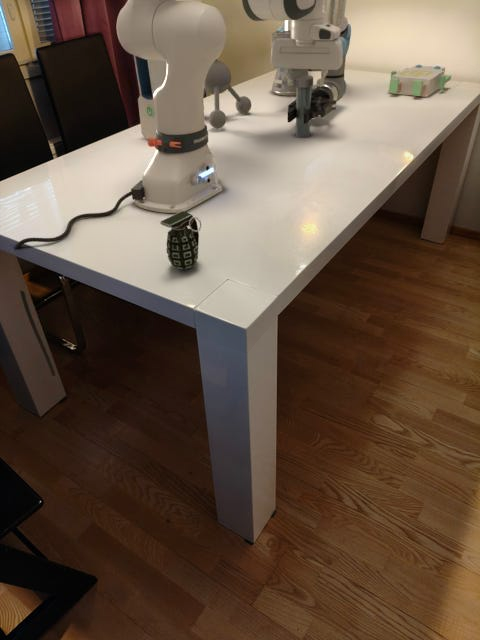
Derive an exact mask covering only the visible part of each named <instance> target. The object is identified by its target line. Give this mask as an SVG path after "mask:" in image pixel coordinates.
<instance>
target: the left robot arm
mask: <svg viewBox="0 0 480 640" xmlns="http://www.w3.org/2000/svg"><path fill="white" fill-rule="evenodd" d="M241 3H242V7H243V10H244V12H245V14H246V15H247V17H249V19H250V20H252V21H253V22H262V21H263V22H264V21H265V22H266V21H276V22H284V21H291V30H286V31H280V30H278V29H277V30H278V31H277V30H276V31H275V32H273V33H272V34H271V36H270V46H271V52H270V66H271V67H272V68H273V69H277V68H284V74H285V76H286V78H287V79H288V80H287V85H289V86H293V85H294V78H291V75H290V73H289V72H290V71H291V69H319V70H321V71H320V74H323V75H322V76H321V77H320V78H317V80H316V88H317V87H322V86H323V80H324V78H325V76H326V75H327V73H328V70H338V69H339V68H340V67H341V66H342V63H343V47H342V42H341V40H340V39H339V38H338V37H339V36H340V31H341V30H340V28H339V27H336V26H334V25H331V24H328V23H326V22H324V13H323V3H324V0H241ZM116 34H117V38H118V41H119V44H120V45H121V47H122V48H123V49H124V51H125V52H127V53H128V54H130V55H133V56H134V55H135V56H137V57H140V58H143V59H146V60H156V61H166V64H167V73H166V78H165V81H164V82H163V83H162V84H160V85H159V86H158V87H157V89H156V90H155V92H154V95H153V101H154V108H155V114H156V121H157V128H158V129H157V130H156V138H152V137H150V138H149V139H147V146H149V147H151V148H152V147H154V148H155V151H154V153H153V155H152V157H151V159H150V162H149V163H148V165H147V167H146V169H145V172H144V173H143V176H142V179H141V180H140V181H138V182H137V183H136V184H135V185H133V187H132V188H131V189H130V191H129V192H127V193H125V194H124V195H122V196H121V197H119V198H118V200H117V201H116V203H115V205H114V206H113V208H112V209H110V210H106V211H104V212H103V211H102V212H93V213H92V212H90V213H82V214H78V215H76V216H74V217H73V218H71V219H70V220H69V221H68V223H67V226H66V229H65V230H64V232H62V233H61V234H60V235H58V236H54V237H26V238H23V239H21V240H20V241H18V242H17V243H16V245H15V246H14V248H13V250H15V251H16V250H19V249H21V247H22V246H23V245H25V244H28V243H34V242H38V243H54V242H58V241H61V240H62V239H65V238H66V237H67V236H68V235H69V234H70V231H71V229H72V226H73V224H74V223H75V222H76V221H78V220H81V219H85V218H101V217H107V216H110V215H112V214H114V213H115V212H116V211H117V210H118V209H119V207H120V206H121V204H122V203H123V202H124V200H126V199H127V198H129V197H131V198H132V200H134V205H135V206H137V207H138V208H140V209H142V210H143V209H144V210H147V211H151V212H157V213H164V214H177V213H179V212H181V211H184V212H187V211H189V210H190V209H193V208H194V207H196V206H198V205H199V204H201V203H203V202H205V201H207V200H208V199H210V198H212V197H214V196H215V195H217V194H219V193H220V192H222V191H223V185H222V184H220V183H219V180H218V174H217V168H216V163H215V156H214V155H213V153H212V152H211V149H210V147H209V145H208V143H209V130H208V126H207V124H206V121H205V103H204V98H203V91H204V83H205V79H206V76H207V73H208V70H209V68H210V66H211V65H212V63H213V62H214V61H215V60H216V59H217V60H218V58H219V57H220V56H221V54H222V53H223V51H224V49H225V46H226V43H227V25H226V22H225V20H224V17H223V15H222V13H221V11H220V10H219V9H218V7H215V6H212V5H210V4H207V3H204V2H200V1H197V0H127V1H126V2H125V4H124V6H123V7H122V8H121V9H120V11H119V13H118V15H117V19H116ZM19 293H20V296H21V297H20V298H21V300H22V303H23V308H24V310H25V313H26V316H27V318H28V321H29V323H30V326H31V328H32V331H33V332H34V336H35V337H36V340H37V342H38V344H39V347H40V349H41V351H42V354H43V357H44V358H45V361H46V363H47V366H48V367H49V372H50V374H51V377H55V376H56V372H55V369H54V367H53V364H52V362H51V359H50V357H49V354H48V351H47V348H46V347H45V344H44V342H43V339H42V337H41V335H40V333H39V330H38V328H37V326H36V324H35V321H34V318H33V316H32V313H31V310H30V307H29V304H28V300H27V296H26V293H25V291H24V290H19Z"/></svg>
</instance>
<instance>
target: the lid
mask: <svg viewBox="0 0 480 640" xmlns="http://www.w3.org/2000/svg"><path fill="white" fill-rule="evenodd" d="M295 86H296V87H300V88H306V87H311V88H312V87H313V86H314V76H312V75H309V76H298V77H296V79H295Z"/></svg>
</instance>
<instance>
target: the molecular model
mask: <svg viewBox="0 0 480 640" xmlns="http://www.w3.org/2000/svg"><path fill="white" fill-rule="evenodd" d="M231 82H232V73H231V70H230V68H229V66H228V65H227V64H226V63H224V62H223V61H222V60H218V58H217V59H216V60H215V61H214V62H213V63H212V65H211V66H210V68H209V70H208V73H207V76H206V79H205V83H204V91H203V99H204V97H205V96H206V93H207V92H208V93H210V94H212V95H214V96H213V97H214V110H212V111H211V112H210V114H209V116H208V122H209V124H210V126H211V127H212V128H215V129H221V128H223V127H225V125H226V123H227V116H226V113H224V111H222V110H221V109H220V94H223V93H224V92H226V91H228V92H229V93H230V95H232V97H233V98H234V99H235V100H236V101H235V109H236V111H237V112H238V113H240V114H247V113H249V112H250V110H251V109H252V101H251V99H250V98H249V97H248V96H245V95H242V96H240V95H239V94H238V93H237V92H236V91H235V89H234V88H233V86H231Z"/></svg>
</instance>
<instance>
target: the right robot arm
mask: <svg viewBox="0 0 480 640" xmlns="http://www.w3.org/2000/svg"><path fill="white" fill-rule="evenodd" d="M346 5H347V0H324V3H323V13H324V22H326V23H328V24H331V25H334V26H336V27H339V28H340V30H341V31H340V36H339V37H338V38H339V39H340V40H341V42H342V47H343V63H342V66H341V67H340V68H339V69H338V70H328V73H327V75H326V76H325V78H324V80H323V86H322V87H317V86H316V87H315V88H314V89H312V90H311V109H309V110H308V111H307V112H306V113H304V124H306V123H308V122H309V121H310V122H311V121H312V119H313V120H314V119H315V118H318V117H320V118H325V117H326V116H327V115H329V114H330V113H331V112H332V111H335V110H337V102H338V101H340V100H341V99H342V98H343V96H345V94H346V92H347V87H348V86H347V85H348V84H347V82H346V80H345V68H346V57H347V55H348V52H349V48H350V43H351V36H352V26H351V24H350V23H349V21H348V19H347V17H346V16H345V14H346V7H347V6H346ZM278 30H280V31H286V30H291V21H283V24H282V25H280V26H279V27H278V28H277V30H276V31H278ZM275 71H276V72H275V75H274V79H273V82H272V87H271V92H272V94H274V95H277V96H283V97H295V96H297V87H296V86H295V79H296V77H298V76H310V75H309V72H310V73H311V72H321V70H319V69H291V71H290V72H289V73H290V75H291V78H294V85H293V86H289V85H287V80H288V79H287V78H286V76H285V74H284V68H276V70H275ZM320 74H321V73H320ZM322 75H323V74H321V77H322ZM294 120H296V99H294V100H293V101H291V102H290V103H289V104H287V123H291V122H293V121H294Z"/></svg>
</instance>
